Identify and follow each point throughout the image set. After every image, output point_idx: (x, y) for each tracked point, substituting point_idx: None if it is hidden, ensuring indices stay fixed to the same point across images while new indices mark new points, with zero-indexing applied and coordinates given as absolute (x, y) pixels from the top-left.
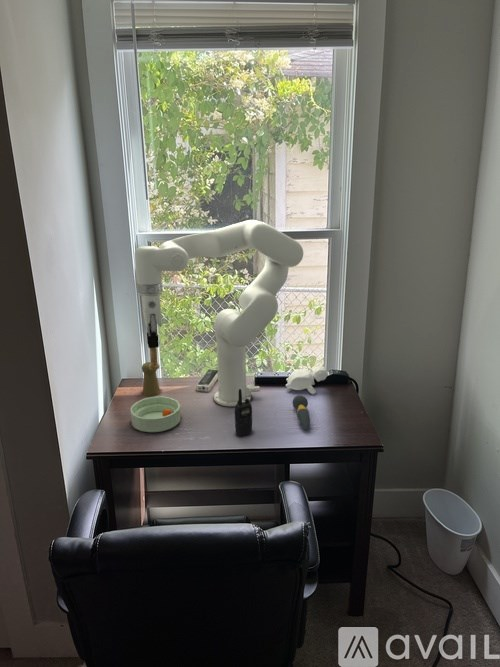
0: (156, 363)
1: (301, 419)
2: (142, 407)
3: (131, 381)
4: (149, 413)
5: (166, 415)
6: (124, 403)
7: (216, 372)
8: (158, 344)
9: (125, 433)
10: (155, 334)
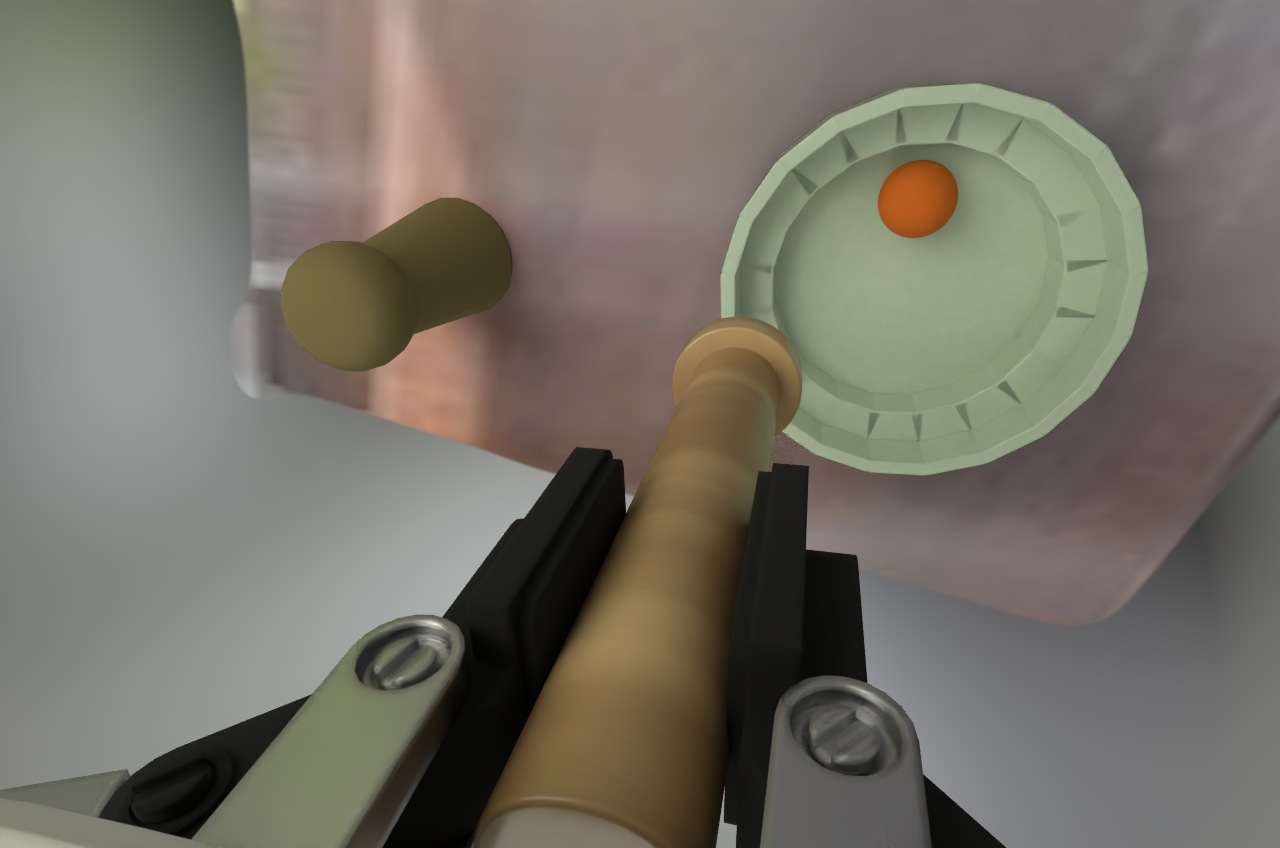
0: (770, 377)
1: None
2: None
3: (302, 359)
4: (790, 311)
5: (954, 210)
6: (584, 430)
7: None
8: (807, 493)
9: (975, 470)
10: (957, 817)
